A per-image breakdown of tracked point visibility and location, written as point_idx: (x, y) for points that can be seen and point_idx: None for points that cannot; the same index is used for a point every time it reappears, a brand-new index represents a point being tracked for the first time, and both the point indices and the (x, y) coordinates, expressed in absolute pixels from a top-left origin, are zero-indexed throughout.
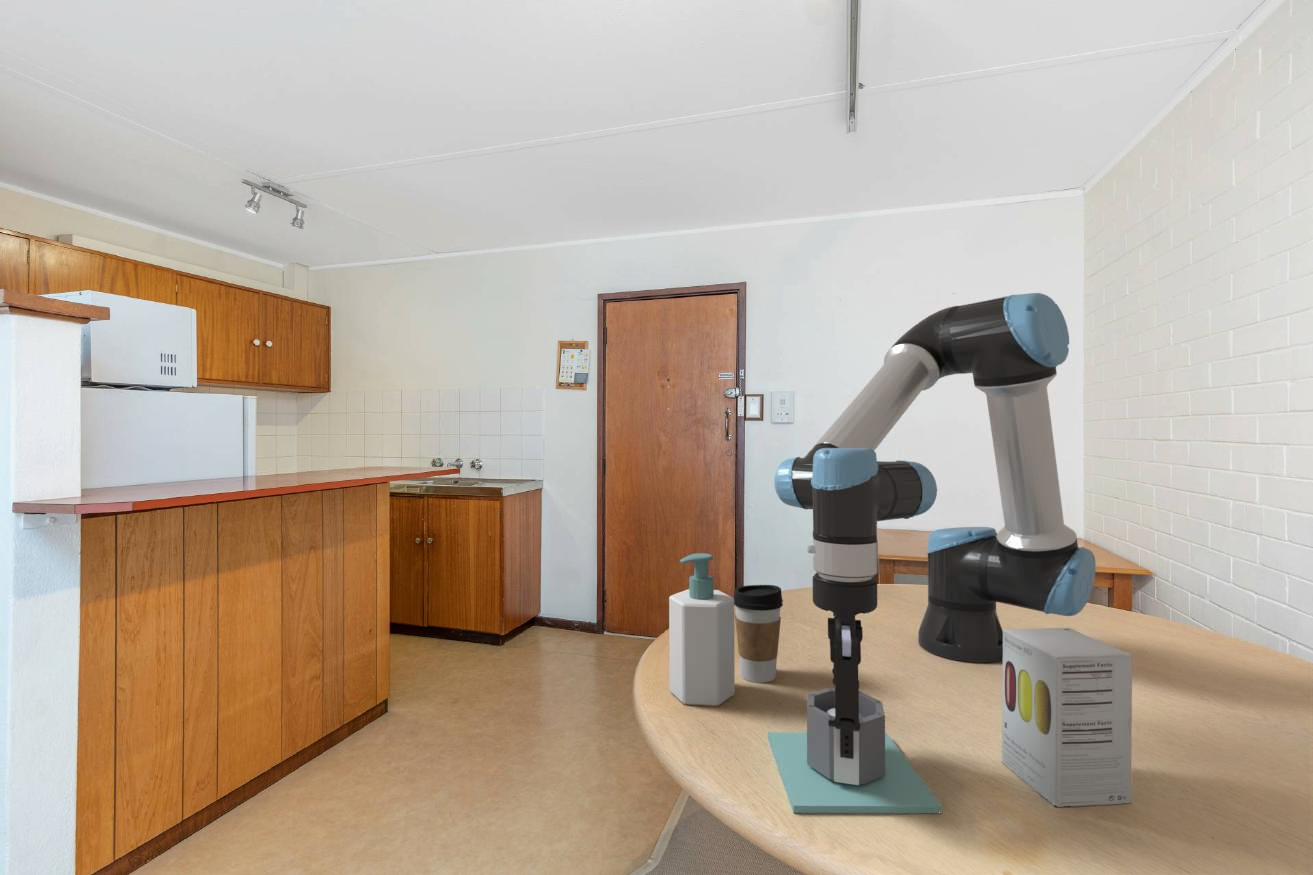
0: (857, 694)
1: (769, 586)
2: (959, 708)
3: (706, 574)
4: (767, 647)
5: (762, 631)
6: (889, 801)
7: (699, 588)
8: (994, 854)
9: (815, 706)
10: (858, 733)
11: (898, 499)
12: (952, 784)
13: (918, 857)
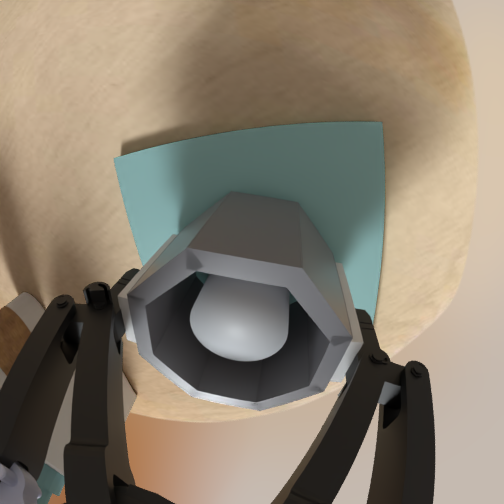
0: (432, 442)
1: None
2: (30, 40)
3: (41, 491)
4: (15, 337)
5: (7, 360)
6: (372, 214)
7: (59, 487)
8: (459, 95)
9: (202, 368)
10: (359, 331)
11: None
12: (273, 62)
13: (464, 207)
